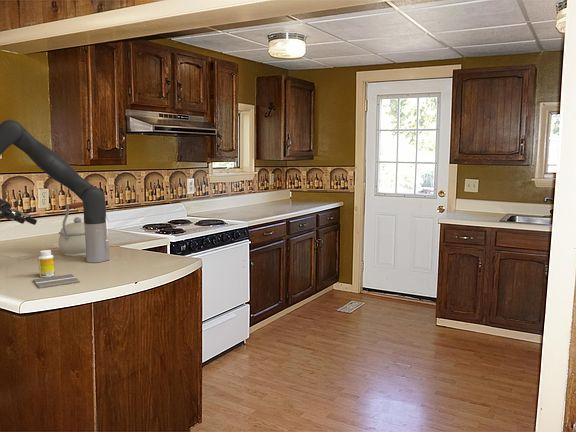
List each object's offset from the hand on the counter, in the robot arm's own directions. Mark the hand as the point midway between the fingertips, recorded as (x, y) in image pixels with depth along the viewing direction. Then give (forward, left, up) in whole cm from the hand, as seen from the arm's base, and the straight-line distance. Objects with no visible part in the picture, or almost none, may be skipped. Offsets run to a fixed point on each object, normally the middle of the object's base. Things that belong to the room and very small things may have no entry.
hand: (30, 222), depth 206 cm
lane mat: (-5, +20, -21) cm, 29 cm away
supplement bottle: (-4, +8, -21) cm, 23 cm away
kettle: (-27, -35, -21) cm, 49 cm away
